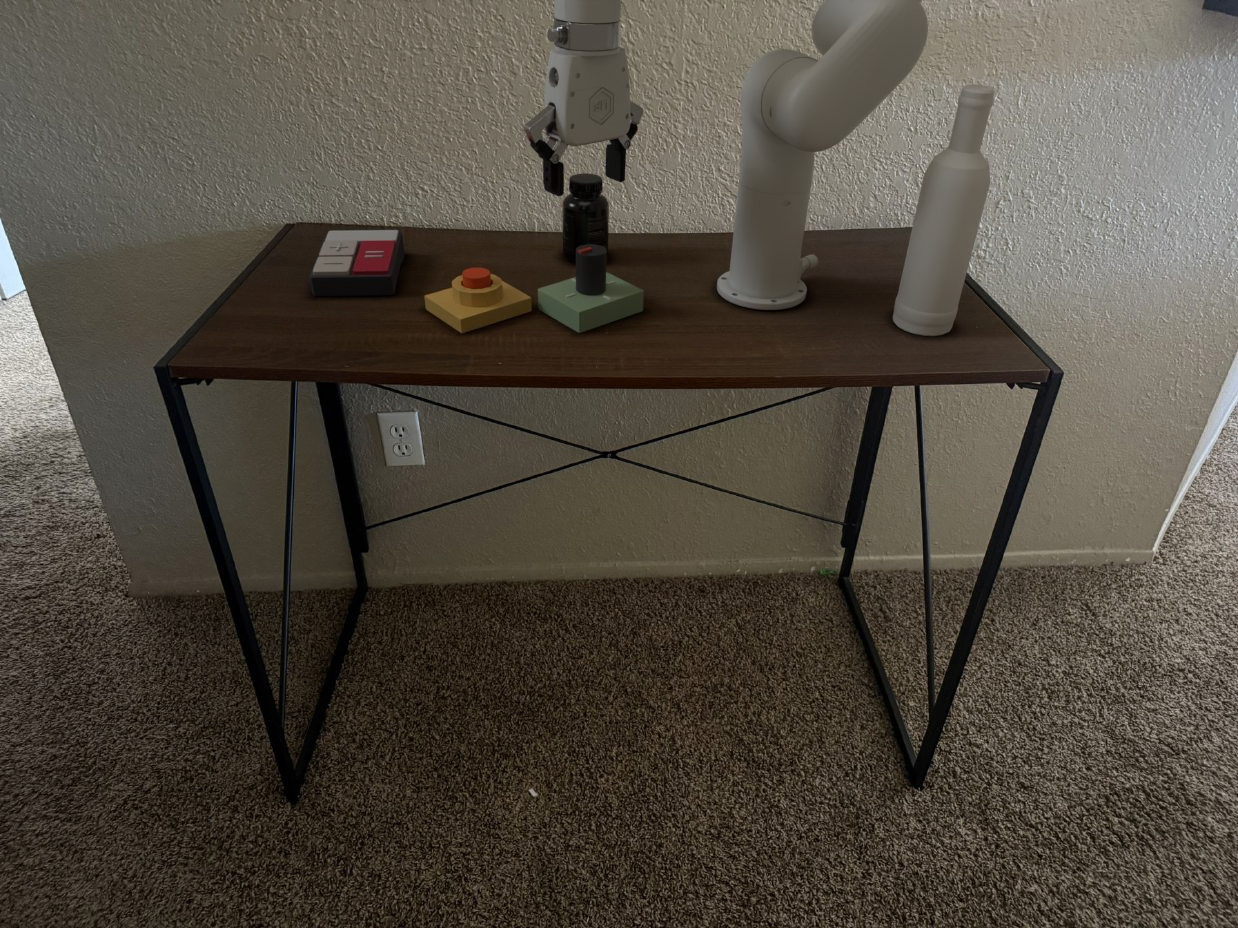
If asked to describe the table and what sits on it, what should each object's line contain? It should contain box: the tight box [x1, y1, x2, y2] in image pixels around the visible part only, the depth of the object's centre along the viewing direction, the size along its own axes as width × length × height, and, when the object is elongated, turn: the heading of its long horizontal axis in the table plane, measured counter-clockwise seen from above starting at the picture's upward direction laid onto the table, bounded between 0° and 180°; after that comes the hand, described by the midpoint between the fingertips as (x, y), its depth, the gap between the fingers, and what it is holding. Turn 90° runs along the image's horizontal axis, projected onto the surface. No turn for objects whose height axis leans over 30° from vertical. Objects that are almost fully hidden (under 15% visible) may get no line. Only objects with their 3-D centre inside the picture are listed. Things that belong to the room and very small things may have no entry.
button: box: [461, 267, 491, 289], centre depth 118 cm, size 4×4×2 cm
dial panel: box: [537, 271, 645, 334], centre depth 121 cm, size 11×9×3 cm
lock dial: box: [575, 244, 608, 295], centre depth 119 cm, size 4×4×6 cm
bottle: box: [892, 83, 996, 337], centre depth 113 cm, size 8×8×30 cm
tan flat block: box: [423, 273, 533, 334], centre depth 120 cm, size 11×9×4 cm
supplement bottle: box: [562, 172, 610, 265], centre depth 134 cm, size 7×7×12 cm
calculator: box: [308, 229, 405, 297], centre depth 128 cm, size 11×4×15 cm
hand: (585, 186), depth 113 cm, fingers open, 9 cm apart
